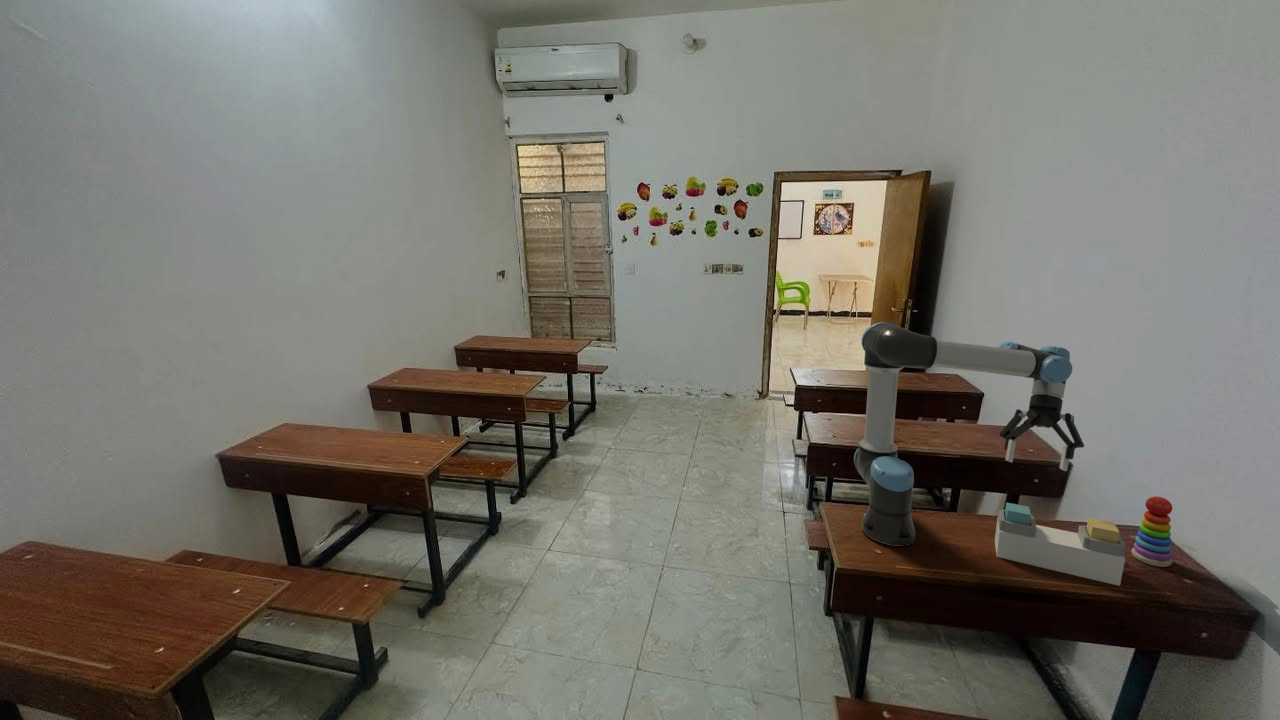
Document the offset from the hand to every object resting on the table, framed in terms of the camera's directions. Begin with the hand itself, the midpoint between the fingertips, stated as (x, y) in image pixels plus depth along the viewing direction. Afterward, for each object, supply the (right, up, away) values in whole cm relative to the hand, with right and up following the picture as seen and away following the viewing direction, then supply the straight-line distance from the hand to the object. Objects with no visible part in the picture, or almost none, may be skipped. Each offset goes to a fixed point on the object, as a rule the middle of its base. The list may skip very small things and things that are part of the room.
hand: (1034, 465), depth 145 cm
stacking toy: (+26, -25, -8) cm, 37 cm away
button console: (-1, -25, -7) cm, 27 cm away
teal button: (-9, -15, -5) cm, 18 cm away
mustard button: (+6, -16, -14) cm, 22 cm away
